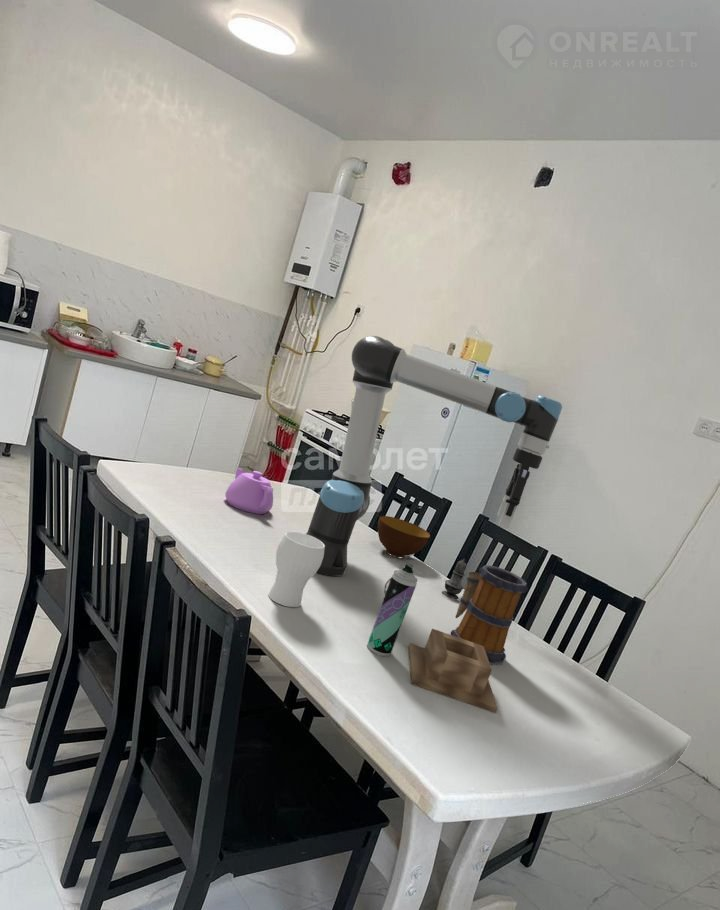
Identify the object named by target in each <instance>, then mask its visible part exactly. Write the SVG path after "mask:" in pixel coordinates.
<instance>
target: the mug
mask: <svg viewBox="0 0 720 910" xmlns="http://www.w3.org/2000/svg"><path fill="white" fill-rule="evenodd" d="M467 574H468V575H467V577H466V582H465V587H464V589H463V593H462V596H461V597H460V598H459V605H458V608H457V611H456V614H455V618H456V619H458V618H460V616H462V615H463V614H464V615H463V616H462V618H461V621H460V623H459V625H458V626H456V628H455V629H452V630H451V631H450V635H453V636H456V637H458V638H461V639H464V640H467V641H470V642H473V643H476V644H479V645H482V646H484V649H485V652H486V655H487V658H488V660H489V663H490V666H500V665H501V666H502V665H503V663H504V661H505V660H506V657H507V655H506V653H505V652H506V649H505V644H506V640H507V638H508V633H509V629H510V627H511V625H512V624H513V620H514V613H515V610H516V608H517V605H518V603H519V600H520V598H521V596H522V594H523V593H527V591H528V589H529V588H528V586H527V585H528V583H527V582H526V580H524V578H522V577H521V576H519V575H517V574H515V573H514V572H511V571H509V570H506V569H505V568H501V567H498V566H493V565H487V564H485V565H483V566H482V567H480V568H479V570H478V572H476V571H470V572H469V571H468V573H467ZM464 612H465V613H464Z"/></svg>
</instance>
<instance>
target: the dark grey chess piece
mask: <svg viewBox="0 0 720 910" xmlns="http://www.w3.org/2000/svg"><path fill="white" fill-rule="evenodd" d="M465 561H466V560H465V558H463V559H462V560H458V561H457V563H456V566H455V567H454V569H453V570H452V575H451V578H450V579H446V580H445V581H444V588H445V590H442V591H441V594H442V596H445V597H447V598H449V599H452V600H454V601H455V600H460V598H459V596H458V595H459V594H460V593H461V592H462V591H464V589H465V587H464V586H463V585H462V580H463V578H464V576H465V571H466V569H467V567H468V566H467V562H465Z"/></svg>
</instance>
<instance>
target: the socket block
mask: <svg viewBox="0 0 720 910" xmlns="http://www.w3.org/2000/svg"><path fill="white" fill-rule="evenodd" d="M407 651H408V660H409V671H410V683H411V685H412V686H416V687H419V688H423V689H424V690H429V691H432V692H433V693H437V694H440V695H442V696H446V697H448V698H452V699H455V700H457V701H461V702H463V703H467V704H470V705H472V706H476V707H478V708H481V709H484V710H487V711H490V712H493V713H494V714H495V713H497V712H498V709H499V707H498V705H497V702H496V699H495V698H496V697H495V696H494V693H493V689H492V687H491V683H490V679H489V678H490V676H491V674H492V671H493V669H492V665H490V663H489V660H488V658H487V655H486V652H485V649H484V646H482V645H479V644H476V643H473V642H470V641H467V640H464V639H461V638H458V637H456V636H453V635H451V633H450V634H449V633H447V632H443V631H442V630H441V631H440V630H439V629H435V628H431V630H430V633H429V636H428V639H427V641H426V643H425V647H423V646H420V645H417V644H413V643H411V642H410V643H409V644H408V648H407Z"/></svg>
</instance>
